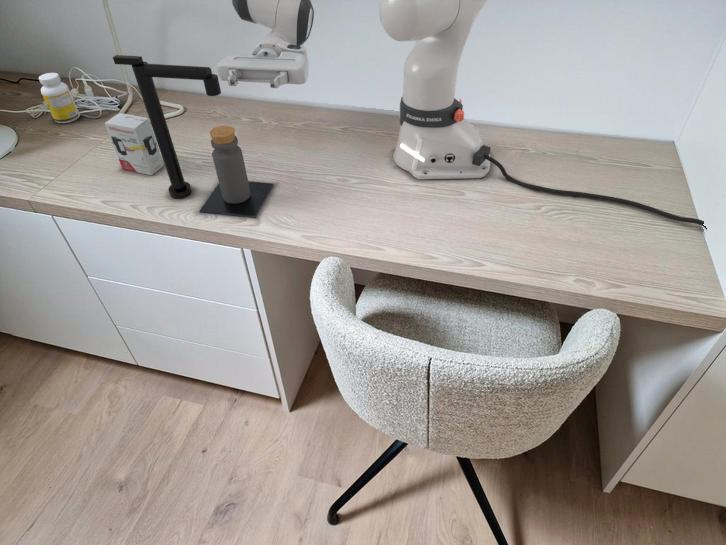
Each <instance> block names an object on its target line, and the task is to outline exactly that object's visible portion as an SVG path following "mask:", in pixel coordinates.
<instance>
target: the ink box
mask: <svg viewBox="0 0 726 545" xmlns="http://www.w3.org/2000/svg"><path fill="white" fill-rule="evenodd" d="M104 126H105V128H106V130H107V134H108V136H109V139H110V141H111V143H112V146H113V149H114V152H115V154H116V157H117V159H118V161H119V165H120V166H121V169H122V170H124V171H128V172H133V173H138V174H143V175H148V176H153V175H154V174H156V173H157V172H158V171H160V170H161V169H162V168H163V167H165V164H164V161H163V158H162V155H161V152H160V149H159V146H158V143H157V140H156V137H155V134H154V131H153V128H152V125H151V122H150V119H149V118H148V117H144V116H138V115H134V114H128V113H123V112H119V113H117V114H115V115H114V116H112V117H111V118H109V119H108V120H106V121H104Z"/></svg>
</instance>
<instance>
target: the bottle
mask: <svg viewBox="0 0 726 545" xmlns="http://www.w3.org/2000/svg"><path fill="white" fill-rule="evenodd" d="M235 132H236V130H235V128H234V127H233V126H230V125H219V126H215V127H213V128H211V130H209V135H210V137H211V140H210V144H211V147H212V149H213V150H212V152H211V156H212V160H213V165H214V170H215V172H216V176H217V180H218V184H219V185H220V188H221V192H222V196H223V199H224V201H226V202H227V203H231V204H237V203H242V202H244V201H246V200H247V199H249V197H250V195H251V194H250V188H249V183H248V181H249V178H248V174H247V168H246V164H245V159H244V155H243V150H242V148H241V147H240V146H239V145H238V144H239V140H238V137H237V136H236V134H235Z"/></svg>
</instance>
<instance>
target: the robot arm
mask: <svg viewBox="0 0 726 545" xmlns="http://www.w3.org/2000/svg"><path fill="white" fill-rule="evenodd" d="M487 2H488V0H379V1H378V17H379V21H380V24H381V26H382V29H383V30H384V32H385V33H386V34H387V35H388V37H390V39H393V40H394V41H397V42H415V43H414V45H413V46H412V48H411V50H410V51H409V52H408V54H407V56H406V58H405V60H404V64H403V76H402V77H403V78H402V96H401V98H400V102H399V111H398V120H399V125H400V126H399V133H398V137H397V142H396V145H395V149H394V151H393V154H392V159H393V162H394V163H395V164H396V165H397V166H398V167H399V168H401V169H402V170H405V171H407V172H408V173H410V174H411V175H412V176H413V177H414V178H415V179H417V180H453V179H456V180H457V179H460V180H461V179H481V178H484V177H485V176H487V175H488V173H489V171H490V169H491V163H492V164H493V165H495V166H496V167H497V168H498V169H499V170H500V173H501V174H502V176H503V177H504V178H505V179H506V180H508V181H509V182H511V183H513V184H516V185H518V186H520V187H523V188H527V189H529V190H536V191H540V192H544V193H548V194H554V195H555V194H556V195H563V196H573V197H582V198H588V199H595V200H601V201H608V202H614V203H617V204H622V205H626V206H631V207H635V208H638V209H641V210H644V211H646V212H647V211H648V212H650V213H653V214H656V215H659V216H661V217H664V218H667V219H671V220H674V221H676V222H677V221H678V222H683V223H690V224H696V225H700V226H702V227H703V228H704V229H705V230H706V231H707V228H706V226H704V225H703V224H704V220H703V219H700V218H694V217H686V216H680V215H677V214H673V213H670V212H668V211H664V210H661V209H658V208H656V207H653V206H650V205H646V204H645V203H644V204H643V203H640V202H637V201H633V200H628V199H624V198H620V197H615V196H609V195H603V194H597V193H590V192H584V191H583V192H582V191H575V190H574V191H573V190H565V189H557V188H550V187H546V186H541V185H536V184H532V183H528V182H527V183H526V182H523V181H520V180H518V179H516V178H514V177H512V176H511V175H509V174H508V173H507V170H506V169H505V167H504V165H503V164H501V163H500V162H499V161H498V160H496V159H495V158H494V157H491V148H492V147H491V146H488V145H484V143H483V137H482V135H481V132H480V130H479V129H478V127H476V126H475V125H474V124H472V122H470V121H468V120H467V119H466V118H465V111H464V110H463V109H464V107H463V106H464V105H463V103H462V102H463V101H462V98H459V100H458V99H457V98H455V95H456V88H457V87H456V86H457V79H458V72H459V67H460V62H461V58H462V56H463V52H464V49H465V47H466V44H467V41H468V38H469V35H470V34H471V30H472V28H473V26H474V23H475V21H476V19H477V18H478V16H479V14H480V13H481V11H482V10H483V9H484V7H485V6H486V4H487ZM231 4H232V6H233V9H234V10H235V12H236V14H237V15H238V17H239V18H240V20H242V21H244V22H249V23H252V24H258V25H260V26H263V27H265V28H268V29H270V30H271V29H272V30H271V31H269V33H268V34H266V36H265V37H264V38H262V40H260V42H259V43H258V44H257V45H256V46H255V47H254V48H253V50H252V53H251V54H240V53H239V54H238V53H235V54H230V55H228V56H226V57H224V58H222V59H221V60H220V61H218V63H217V64H216V70H217V76H218V78H219V79H220V81H222V82H223V81H225V82H227V83H228V86H229V87H237V85H239V82H242V83H243V82H244V83H262V84H263V83H264V84H269V87H270V88H271V89H278V88H280V86H283V85H303V84H306V82H307V81H308V79H309V58H308V52H307V49H306V47H304V45H305V43H306V42H307V41H308V39H309V37H310V36H311V32H312V28H313V25H314V17H315V11H314V7H313V4H312V1H311V0H231Z"/></svg>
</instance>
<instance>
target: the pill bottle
mask: <svg viewBox="0 0 726 545" xmlns="http://www.w3.org/2000/svg"><path fill="white" fill-rule="evenodd" d="M38 80H39V82H40V84H41V85H42V86H41V87H40V93H41V96H42V97H43V100H44V102H45V104H46V106H47V108H48V110H49V113H50V114H51V116H52V119H53V120H54V122H56V123H58V124H69V123H72V122H76V121H77V120H78V119H79V118H80V117H81V114H80V111H79V108H78V107H77V104H76V101H75V100H74V97H73V94H72V93H71V90H70V88H69V86H68V85H67V83H65V82H63V81H61V80H62V79H61V76H60V75H59V73H57V72H47V73H43V74H41V75H39V77H38Z"/></svg>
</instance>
